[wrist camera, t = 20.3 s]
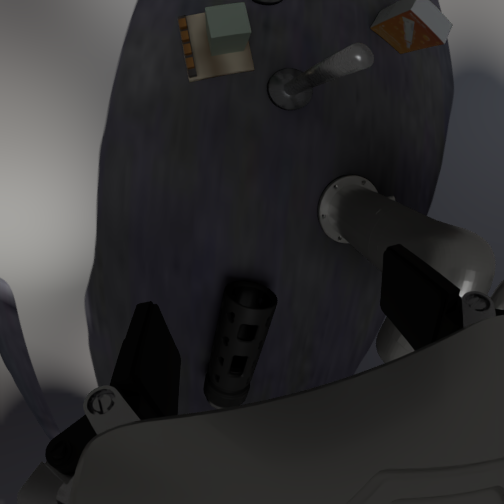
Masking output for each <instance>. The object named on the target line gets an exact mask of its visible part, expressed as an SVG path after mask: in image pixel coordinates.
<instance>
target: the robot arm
mask: <svg viewBox="0 0 504 504" xmlns="http://www.w3.org/2000/svg"><path fill="white" fill-rule="evenodd" d="M361 182H362V183H361ZM334 185H335V187H334ZM322 214H323V216H322ZM318 219H319V223H320V225H321V228H322V229H323V231H324V232H325V233H326V234H327V235H328V236H329V237H330V238H331V239H333V240H334V241H337V242H340V243H350V244H351V245H352V246H353V247H354V248H355V249H357V250H358V251H359V252H360V253H361V254H362V255H363V256H364V257H365V258H366V259H368V260H369V261H370V262H371V263H372V264H373V265H374V266H375V267H376V268H377V269H379V270H380V271H381V272H382V287H381V300H380V306H381V309H382V311H383V312H384V314H385V315H386V316H387V317H386V319H385V321H384V323H383V324H382V326H381V328H380V330H379V333H378V336H377V339H376V348H377V352H378V354H379V356H380V358H381V359H382V360H383V362H384V364H382V365H379V366H377V367H374V368H372V369H369V370H366V371H364V372H361V373H358V374H355V375H352V376H349V377H346V378H343V379H340V380H337V381H334V382H331V383H328V384H324V385H321V386H318V387H314V388H311V389H307V390H304V391H300V392H296V393H292V394H288V395H284V396H280V397H276V398H272V399H268V400H263V401H259V402H254V403H249V404H244V405H239V406H233V407H228V408H222V409H216V410H210V411H203V412H197V413H189V414H182V415H177V414H178V395H179V379H180V365H181V358H180V354H179V351H178V349H177V347H176V345H175V343H174V341H173V338H172V336H171V334H170V332H169V330H168V327H167V325H166V323H165V320H164V318H163V316H162V314H161V311H160V309H159V307H158V305H157V304H153V303H152V302H151V301H150V302H145V303H140V304H137V306H136V309H135V312H134V314H133V317H132V320H131V323H130V326H129V329H128V332H127V335H126V338H125V339H124V341H123V344H122V347H121V350H120V353H119V356H118V359H117V362H116V366H115V369H114V372H113V376H112V379H111V383H110V386H101V387H98V388H96V389H94V390H93V391H91V392H90V393H89V394H88V396H87V397H86V398H85V401H84V406H83V408H84V412H85V414H86V415H84V416H83V417H82V418H80V419H79V420H78V421H76V422H75V423H74V424H72V425H71V426H70V427H68V428H67V429H66V430H64V431H63V432H62V433H60V434H59V435H58V436H56V437H55V438H53V439H52V440H51V441H50V443H49V444H48V446H47V448H46V459H47V461H46V463H43V462H41V463H40V464H39V465H38V467H37V468H36V469H35V471H34V472H33V473H32V475H31V476H30V477H29V478H28V480H27V481H26V483H25V484H24V485H23V486H22V488H21V489H20V490H19V492H18V496H17V501H18V504H504V280H503V281H502V282H501V283H500V284H499V285H498V287H497V288H496V289H495V291H494V293H493V294H492V296H491V298H490V297H489V296H488V295H487V294H488V292H489V290H490V287H491V284H492V281H493V278H494V273H495V257H494V253H493V251H492V249H491V247H490V245H489V244H488V243H487V242H486V241H485V240H484V239H483V238H481V237H480V236H478V235H477V234H475V233H473V232H471V231H468V230H466V229H463V228H460V227H456V226H453V225H450V224H446V223H443V222H440V221H437V220H434V219H432V218H430V217H428V216H426V215H423V214H421V213H419V212H417V211H415V210H413V209H411V208H409V207H407V206H404V205H402V204H400V203H398V202H396V201H395V197H394V196H389V197H385V196H383V195H381V194H379V193H378V191H377V190H376V188H375V186H374V185H373V184H372V183H371V182H370V181H368V180H367V179H365V178H363V177H360V176H357V175H346V176H342V177H339V178H337V179H336V180H334V181H333V182H331V183H330V184H329V185H328V186H327V188H326V189H325V190H324V192H323V194H322V196H321V197H320V201H319V204H318Z"/></svg>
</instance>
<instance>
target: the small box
mask: <svg viewBox="0 0 504 504" xmlns="http://www.w3.org/2000/svg"><path fill="white" fill-rule="evenodd" d="M451 27H452V24H451V22H450V21H449V20H448V19H447V18H446V17H445V16H444V15H443V14H442V13H441V11H440V10H439V9H438V8H437V7H436V6H435V5H434V4H433V3H431V2H430V1H429V0H400V1H398V2H396V3H394V4H392V5H390V6H388V7H387V8H385V9H383V10H381V11H380V12H379V14H378V16H377V17H376V19H375V21H374V22H373V24H372V25H371V27H370V29H371V30H373V31H374V32H376V33H377V34H378V35H379V36H381V37H382V38H383V39H384V40H385V41H387V42H388V43H389V44H390V45H391V46H392V47H394V48H395V49H396V50H397V51H398V52H399V53H400V54H403V53H407V52H411V51H415V50H419V49H423V48H428V47H432V46H437V45H442V44H445V42H446V40H447V37H448V35H449V32H450V29H451Z"/></svg>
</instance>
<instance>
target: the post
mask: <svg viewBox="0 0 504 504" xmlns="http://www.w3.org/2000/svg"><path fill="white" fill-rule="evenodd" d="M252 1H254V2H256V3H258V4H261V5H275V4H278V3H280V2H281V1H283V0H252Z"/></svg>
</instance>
